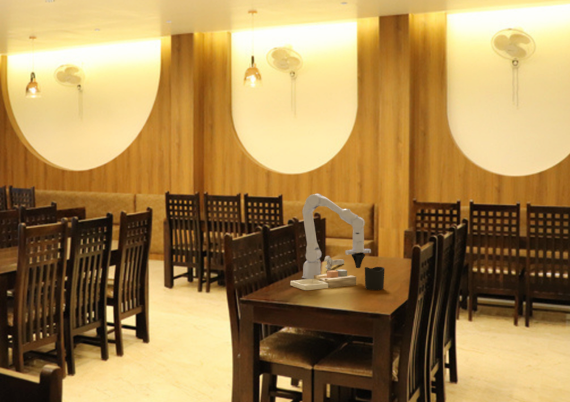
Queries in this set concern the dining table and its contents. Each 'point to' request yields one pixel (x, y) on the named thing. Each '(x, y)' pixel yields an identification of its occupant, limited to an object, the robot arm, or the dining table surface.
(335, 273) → the terracotta cube
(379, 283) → the pen holder
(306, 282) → the tray
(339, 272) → the matte grey cube
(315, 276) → the grooved board
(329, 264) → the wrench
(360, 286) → the dining table surface
